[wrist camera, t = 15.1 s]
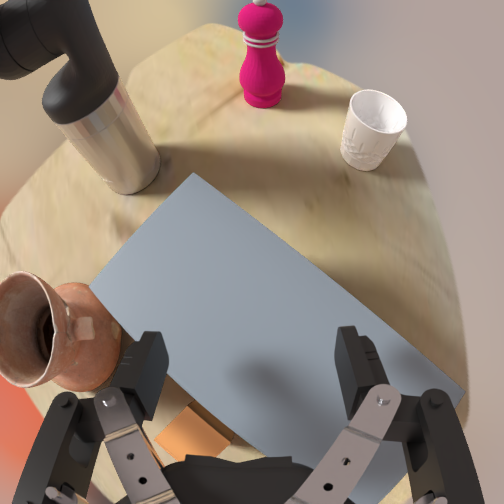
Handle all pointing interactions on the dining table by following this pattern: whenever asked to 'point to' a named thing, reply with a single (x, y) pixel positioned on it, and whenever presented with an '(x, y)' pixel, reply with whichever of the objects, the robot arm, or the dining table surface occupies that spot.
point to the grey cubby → (255, 329)
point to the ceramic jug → (55, 334)
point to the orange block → (195, 434)
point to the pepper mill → (261, 54)
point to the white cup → (371, 129)
